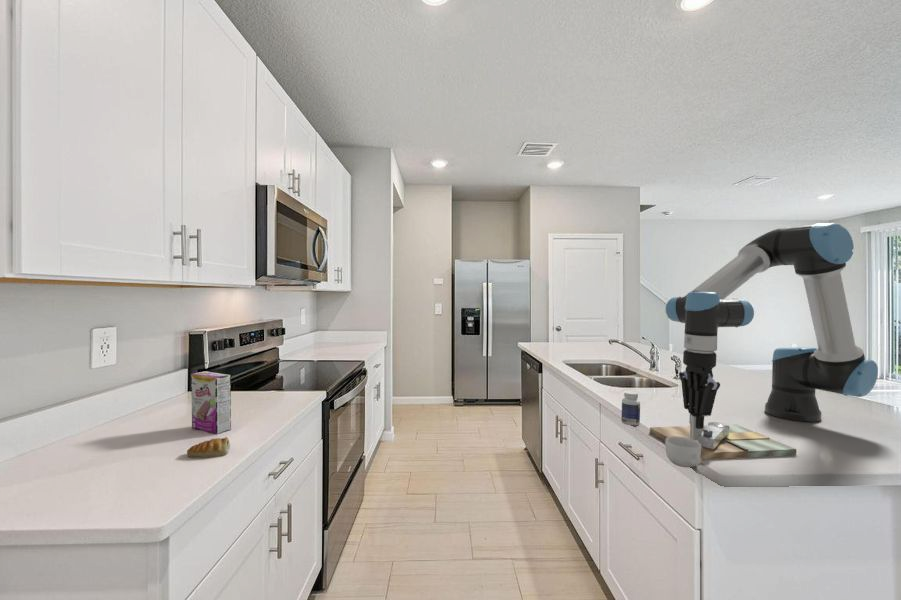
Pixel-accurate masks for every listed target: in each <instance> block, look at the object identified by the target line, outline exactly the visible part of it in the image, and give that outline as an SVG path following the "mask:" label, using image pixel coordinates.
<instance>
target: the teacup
mask: <svg viewBox="0 0 901 600" xmlns="http://www.w3.org/2000/svg"><path fill="white" fill-rule="evenodd" d="M664 443H665V444H664V445H665V454H666V458H667V459H668V460H669V461H670V462H671V463H672V464H673V465H675V466H678V467H681V468H693V467H695V466H697V465H700V464H701V462H702V459H701V458H700V455H701V444H700V443H699V442H697V441H695V440H692V439H689V438H685V437H676V436H673V437H667V438H666V441H664Z"/></svg>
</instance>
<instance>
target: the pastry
mask: <svg viewBox="0 0 901 600" xmlns="http://www.w3.org/2000/svg"><path fill="white" fill-rule="evenodd" d="M230 448H231V443H230V439H229V437H227V436H225V437H223V438H219V437H217V438H211V439H209V440H204V441H202V442H199V443H197V444H195V445H192V446H190V448H188V449H187V451H186V452H187V456H188V457H190V458H195V459H196V458H201V459H206V458H207V459H208V458H216V457H217V458H219V457H223V456H227V455H228V454H229V450H230Z"/></svg>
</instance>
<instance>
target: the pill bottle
mask: <svg viewBox="0 0 901 600" xmlns="http://www.w3.org/2000/svg"><path fill="white" fill-rule="evenodd" d="M623 394H624V395H623V397H624V398H622V400H621V417H620V418H621V423H622V424H624V425H626V426H638V425H640V424H641V418H640V417H641V401H640V399H638V398H639V393H638V392H636V391H632V390H631V391H630V390H628V391H627V390H626V391H624V392H623Z"/></svg>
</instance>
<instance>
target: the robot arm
mask: <svg viewBox="0 0 901 600" xmlns="http://www.w3.org/2000/svg"><path fill="white" fill-rule="evenodd" d="M853 250H854V241H853V238H852V235H851V234H850V231H849V230H848V229H847V228H846V227H844V226H843V225H841V224H839V223H835V222H831V223H829V222H828V223H826V222H824V223H823V222H822V223H819V222H818V223H812V224H805V225H804V224H803V225H799V226H797V225H796V226H789V227H781V228H775V229H773V230H770V231H767V232H765V233H764V234H762V235H760V236H758V237H756V238H755V239H753V240H751V241H749V242H748V243H747V244H745V245H744V246H743V247H742V248H741V249H739V251H738V254H737V256H735V257H734V258H733V259H732V260H730V261H729V262H728V263H726V264H725V265H724V266H722V267H721V268H720V269H718V270H717V271H716V272H714V274H712V275H710V276H709V277H708V278H706V279H705V280H704V281H703V282H702V283H700V284H699V285H697V286H696V287H695V288H694V289H692V290H691V291H689V292H687V294H686V295H685V296H677V297H675V296H674V297H671V298H670V299H668V301H667V303H666V306H665V313H666V316H667V318H668V319H669V320H670V321H672V322H677V323H682V324H684V339H683V348H684V350H683V352H682V353H683V354H682V355H683V357H682V363H683V365H685V366H686V367H685V370H684V371H681V372H678V375H679V379H680V382H681V392H682V398H683V399H682V400H683V408H684V409H685V410H687V411H688V413H689V426H690V439H692V440H698V436H699V435H700V434H701V433H702V432H703V427H704V426H705V417H711V416H712V412H713V409H714V408H713V407H714V404H715V401H716V400H715V399H716V396H717V392H718V390H719V389H720V387H721V383H720V382H719V381H715V379H714V378H713V377H714V374H713V368H715V367H716V366H717V353H716V351H717V350H718V331H719V330H718V328H740V327H745V326H748V325H749V324H750V323H751V322H752V320H753V319H754V316H755V310H754V307H753V306H752V304H751V303H750V302H749V301H748V300H746V299H742V298H727V297H729V296H730V295H731V294H732V293H734V292H735V291H736V290H737V289H738V288H740V287H741V286H742V285H744V284H745V283H746V282H748V281H749V280H750V279H751V278H753V277H754V276H756V274H760V273H764V272H766V271H767V270H768V269H770V268H773V267H779V266H793V268H794V272H795V275H797V276H799V277H801V278H802V279H803V284H804V288H805V289H804V290H805V292H806V293H805V294H806V297H807V302H808V307H809V311H810V316H811V317H810V318H811V320H812V321H811V322H812V325H813V330H814V333H815V339H816V344H817V348H816V347H810V346H809V347H800V346H799V347H779V348H775V350H774V351H773V354H772V360H771V362H772V367H771V368H772V371H771V372H772V373H771V375H772V376H771V391H770V393H769V396H768V398H767V401H766V402H765V404H764V412H765V413H766V414H768V415H770V416H774V417H777V418H781V419H784V420H785V419H786V420H791V421H798V422H809V423H810V422H813V423H814V422H815V423H816V422H820V421H821V420H822V415H823V414H822V411H821V410H820V407H819V403H818V400H817V396H816V390H819V391H823V392H829V393H835V394H839V395H843V396H845V397H846V396H850V397H854V398H856V397H857V398H863V397H865V396H867V395H868V394H869V393H871V391H872V390H873V389H874V387H875V385H876V382H877V380H878V375H879V374H878V373H879V368H878V365H877V363H876V362H875V361H874V360H872V359H870V358H866V357H865V356H866V355H865V352H864V350H863V349H862V348H861V347H859V346H857V345H856V343H855V337H854V333H853V327H852V322H851V317H850V312H849V308H848V307H849V306H848V303H847V298H846V293H845V288H844V282H843V278H842V274H841V273H842V271H843V270H844V269H845V268H846V267H847V262H849V261H850V260H851V259H852V257H853V254H854V252H853Z"/></svg>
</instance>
